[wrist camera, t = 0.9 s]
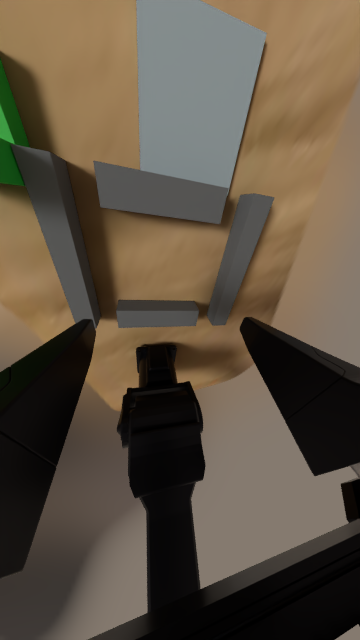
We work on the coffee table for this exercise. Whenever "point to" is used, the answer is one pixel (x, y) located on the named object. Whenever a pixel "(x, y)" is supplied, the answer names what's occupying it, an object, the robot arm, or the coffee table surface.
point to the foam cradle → (143, 197)
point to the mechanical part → (9, 134)
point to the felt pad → (193, 88)
